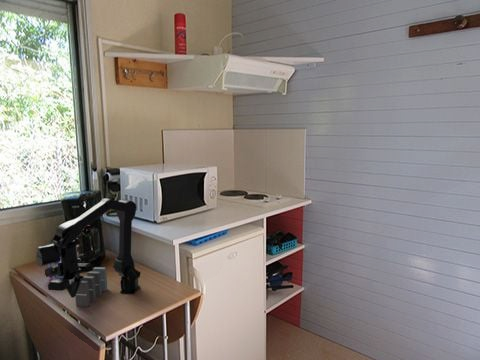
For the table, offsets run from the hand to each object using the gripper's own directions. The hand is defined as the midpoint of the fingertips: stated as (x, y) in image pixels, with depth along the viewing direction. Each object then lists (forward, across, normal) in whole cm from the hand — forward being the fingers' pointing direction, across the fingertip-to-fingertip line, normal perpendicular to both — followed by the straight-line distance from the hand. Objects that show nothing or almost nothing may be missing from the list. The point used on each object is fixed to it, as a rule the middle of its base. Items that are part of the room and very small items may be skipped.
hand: (73, 297), depth 132 cm
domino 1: (+6, -6, 0) cm, 9 cm away
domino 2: (+6, -10, 0) cm, 12 cm away
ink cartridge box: (+7, -26, -25) cm, 37 cm away
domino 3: (+6, -15, 0) cm, 16 cm away
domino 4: (+6, -19, 0) cm, 20 cm away
